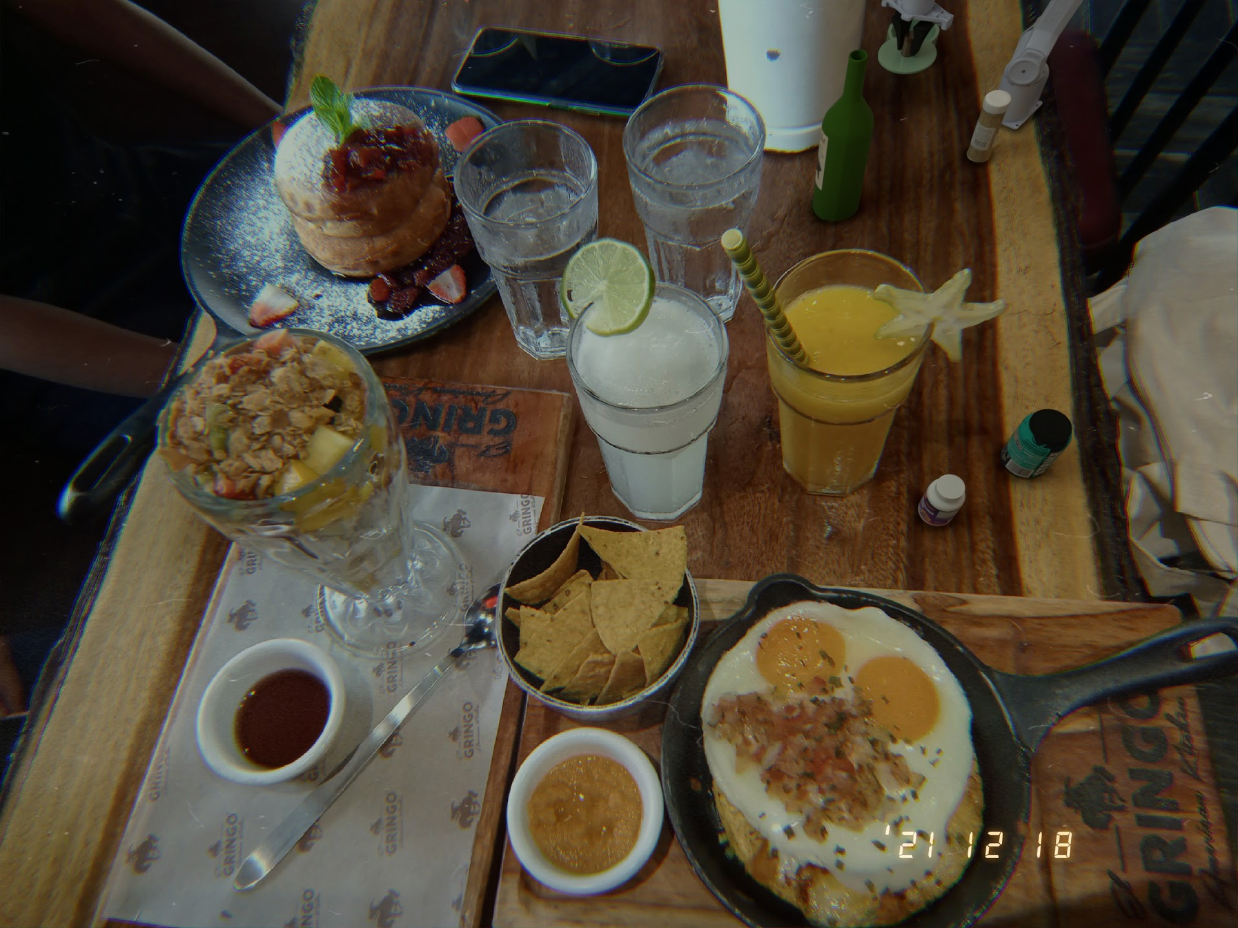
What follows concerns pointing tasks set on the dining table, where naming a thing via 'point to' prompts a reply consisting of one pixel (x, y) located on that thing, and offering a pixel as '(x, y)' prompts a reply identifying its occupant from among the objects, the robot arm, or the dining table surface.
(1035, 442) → the teal spice jar
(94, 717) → the dining table surface
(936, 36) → the canister
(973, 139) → the sprinkles bottle
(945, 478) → the pill bottle
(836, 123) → the wine bottle
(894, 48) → the canister lid
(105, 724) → the dining table surface
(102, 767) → the dining table surface
